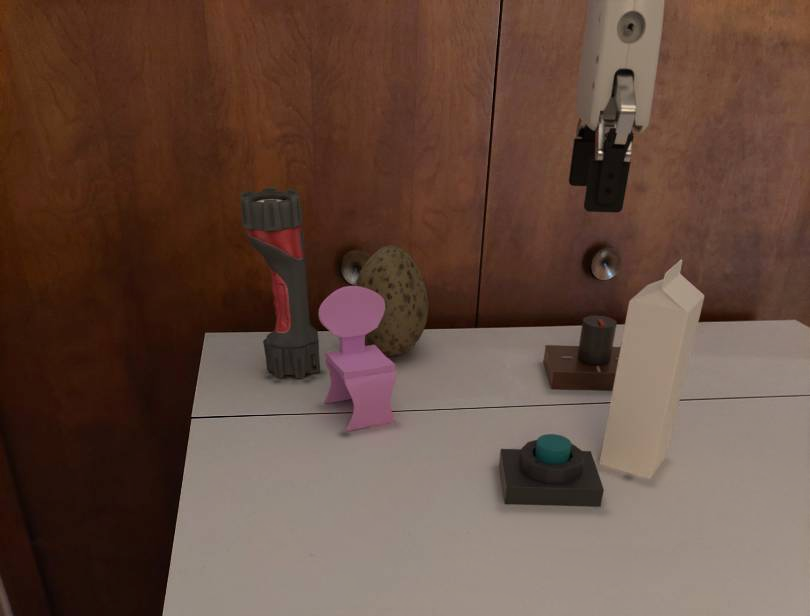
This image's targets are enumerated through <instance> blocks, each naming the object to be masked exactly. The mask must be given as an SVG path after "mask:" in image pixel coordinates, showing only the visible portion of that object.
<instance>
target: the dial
mask: <svg viewBox="0 0 810 616" xmlns="http://www.w3.org/2000/svg"><path fill="white" fill-rule="evenodd" d="M617 324H618V323H617V321H616V319H614V318H611V317H609V316H604V315H588V316H585V317H584V318H583V319H582V323H581V329H580V330H581V331H580V337H579V344H578V346H579V349H578V355H577V357H578V359H579V360H580V361H582V362H584V363H587V364H592V365H602V364H606V363H608V362H609V361H610V359H611V353H612V347H614V341H615V336H616V330H617Z"/></svg>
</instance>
